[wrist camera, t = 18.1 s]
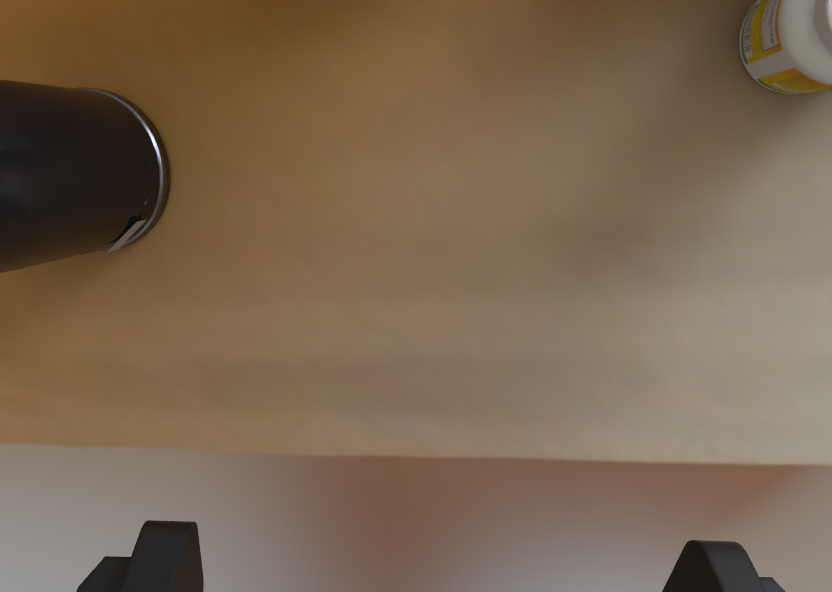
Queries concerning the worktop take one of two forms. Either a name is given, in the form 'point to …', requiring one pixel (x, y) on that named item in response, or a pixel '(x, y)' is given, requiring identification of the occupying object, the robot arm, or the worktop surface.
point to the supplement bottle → (788, 45)
